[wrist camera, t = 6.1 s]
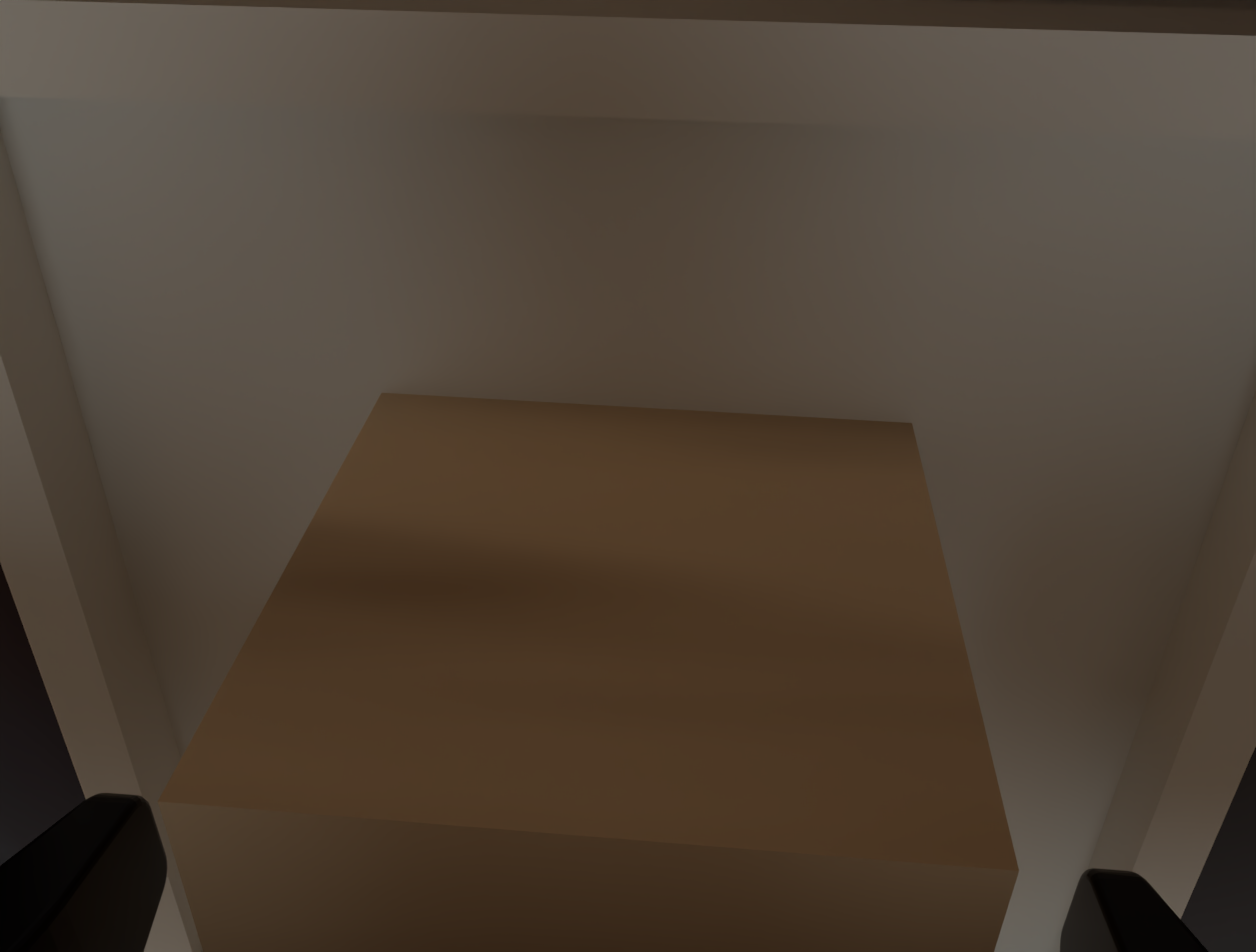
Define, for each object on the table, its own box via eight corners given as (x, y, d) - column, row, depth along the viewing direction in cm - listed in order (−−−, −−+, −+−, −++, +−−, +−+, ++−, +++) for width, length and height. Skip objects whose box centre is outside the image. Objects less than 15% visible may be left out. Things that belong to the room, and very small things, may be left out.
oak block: (846, 793, 13) (891, 1276, 9) (423, 761, 14) (282, 1213, 10) (911, 423, 11) (1018, 871, 6) (381, 393, 11) (156, 801, 7)
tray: (1445, 0, 9) (1560, 44, 8) (1083, 967, 16) (1112, 1074, 14) (-83, -42, 10) (-205, -6, 8) (199, 895, 16) (155, 991, 15)
